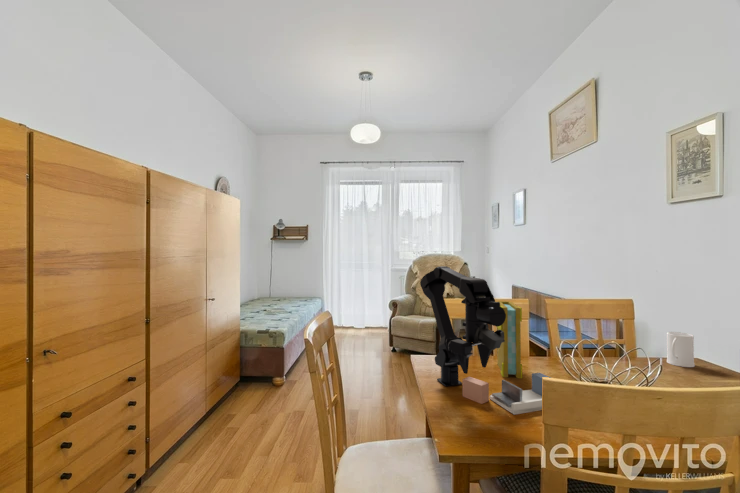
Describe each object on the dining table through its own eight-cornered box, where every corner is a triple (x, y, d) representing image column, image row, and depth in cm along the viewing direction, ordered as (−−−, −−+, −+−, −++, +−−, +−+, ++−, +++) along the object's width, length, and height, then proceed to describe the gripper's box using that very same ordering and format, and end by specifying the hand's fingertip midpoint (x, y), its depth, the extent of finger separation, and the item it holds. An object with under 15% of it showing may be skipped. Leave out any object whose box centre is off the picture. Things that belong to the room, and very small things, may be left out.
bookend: (491, 395, 108) (491, 381, 108) (504, 393, 109) (503, 379, 109) (509, 406, 100) (509, 391, 100) (522, 404, 101) (522, 389, 101)
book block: (462, 396, 110) (462, 378, 110) (469, 393, 113) (469, 376, 113) (481, 404, 105) (481, 385, 105) (488, 401, 107) (488, 383, 107)
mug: (684, 370, 134) (683, 338, 134) (657, 363, 142) (657, 333, 142) (699, 365, 139) (698, 335, 140) (672, 359, 147) (672, 330, 147)
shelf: (489, 398, 108) (489, 377, 108) (539, 391, 114) (539, 371, 114) (514, 414, 98) (513, 391, 98) (568, 405, 103) (567, 383, 104)
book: (522, 378, 126) (521, 308, 126) (502, 376, 127) (501, 307, 127) (512, 363, 142) (512, 301, 143) (495, 362, 144) (495, 301, 144)
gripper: (478, 328, 97) (478, 385, 97) (515, 320, 108) (515, 371, 108) (447, 321, 106) (447, 373, 106) (484, 314, 117) (484, 361, 117)
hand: (475, 370), depth 109 cm, fingers open, 9 cm apart
